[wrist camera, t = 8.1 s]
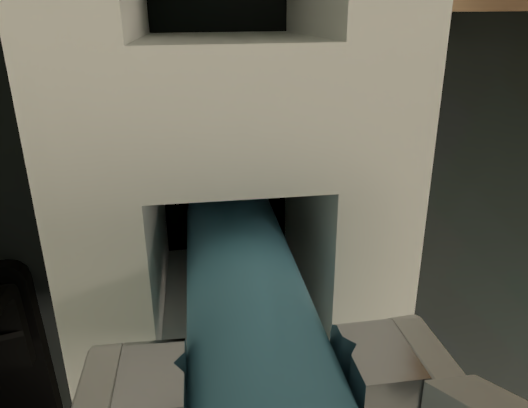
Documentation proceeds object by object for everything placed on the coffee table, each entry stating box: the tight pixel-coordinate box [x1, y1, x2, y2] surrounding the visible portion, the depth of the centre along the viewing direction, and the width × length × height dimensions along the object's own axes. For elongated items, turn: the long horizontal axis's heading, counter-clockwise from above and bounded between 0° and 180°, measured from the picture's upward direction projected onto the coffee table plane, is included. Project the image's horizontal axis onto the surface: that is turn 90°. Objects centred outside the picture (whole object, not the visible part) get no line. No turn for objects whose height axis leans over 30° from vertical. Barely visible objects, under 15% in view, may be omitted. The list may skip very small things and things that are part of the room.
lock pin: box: [186, 198, 358, 408], centre depth 10 cm, size 2×2×10 cm
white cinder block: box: [0, 0, 453, 402], centre depth 12 cm, size 8×14×6 cm, turn 0°
